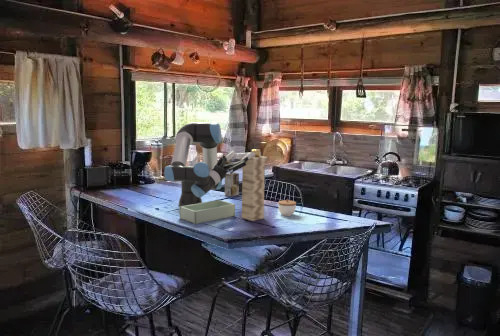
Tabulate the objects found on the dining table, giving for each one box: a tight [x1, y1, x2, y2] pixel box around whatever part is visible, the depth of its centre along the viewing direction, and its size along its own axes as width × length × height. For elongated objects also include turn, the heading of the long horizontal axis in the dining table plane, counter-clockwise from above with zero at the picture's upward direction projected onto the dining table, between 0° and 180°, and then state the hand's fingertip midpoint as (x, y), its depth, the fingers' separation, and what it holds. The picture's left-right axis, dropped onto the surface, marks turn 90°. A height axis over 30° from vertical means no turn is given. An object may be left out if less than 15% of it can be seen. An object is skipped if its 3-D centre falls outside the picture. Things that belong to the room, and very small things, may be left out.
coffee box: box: [224, 172, 240, 197], centre depth 303 cm, size 9×6×16 cm
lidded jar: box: [277, 199, 297, 217], centre depth 250 cm, size 11×11×9 cm
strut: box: [233, 148, 262, 160], centre depth 232 cm, size 18×5×4 cm, turn 133°
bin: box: [179, 199, 236, 225], centre depth 240 cm, size 29×15×7 cm, turn 133°
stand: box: [238, 155, 270, 222], centre depth 238 cm, size 12×12×36 cm
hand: (242, 153), depth 229 cm, fingers open, 13 cm apart
